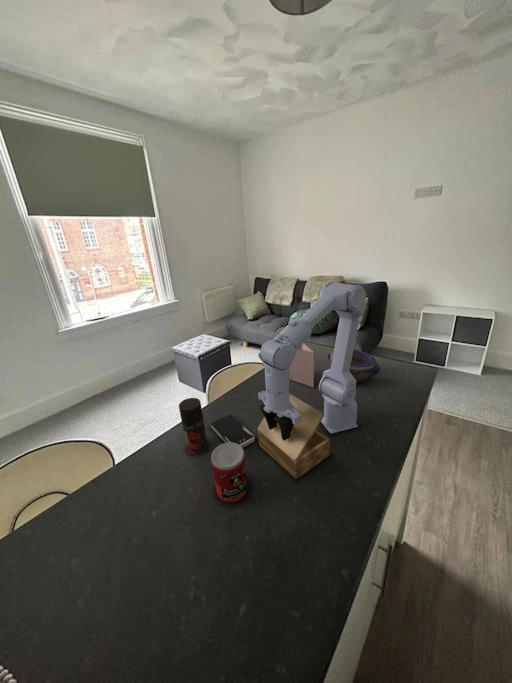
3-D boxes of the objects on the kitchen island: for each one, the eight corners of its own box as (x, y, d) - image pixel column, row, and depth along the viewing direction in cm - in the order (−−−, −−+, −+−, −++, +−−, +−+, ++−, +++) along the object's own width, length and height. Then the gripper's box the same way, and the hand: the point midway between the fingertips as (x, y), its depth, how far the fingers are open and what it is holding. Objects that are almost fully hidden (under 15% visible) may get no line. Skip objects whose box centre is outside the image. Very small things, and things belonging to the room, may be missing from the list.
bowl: (382, 388, 105) (385, 364, 101) (334, 390, 105) (335, 367, 102) (365, 366, 121) (367, 345, 118) (324, 369, 122) (325, 348, 118)
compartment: (290, 426, 88) (290, 412, 86) (329, 455, 76) (330, 439, 74) (259, 445, 81) (257, 430, 79) (296, 479, 69) (295, 463, 67)
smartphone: (230, 414, 94) (255, 437, 82) (230, 417, 95) (256, 440, 83) (210, 423, 90) (233, 449, 78) (210, 426, 91) (234, 452, 79)
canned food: (223, 509, 63) (217, 473, 59) (212, 484, 70) (206, 449, 66) (253, 494, 66) (250, 458, 62) (239, 471, 73) (235, 437, 69)
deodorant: (211, 442, 84) (204, 400, 78) (199, 456, 79) (191, 412, 73) (195, 437, 86) (187, 396, 81) (183, 450, 81) (174, 407, 76)
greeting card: (315, 387, 109) (316, 352, 103) (297, 390, 107) (297, 355, 102) (304, 374, 119) (304, 341, 114) (287, 376, 118) (287, 344, 112)
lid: (283, 390, 81) (275, 383, 78) (324, 414, 69) (316, 408, 66) (258, 429, 79) (248, 424, 76) (296, 462, 67) (286, 457, 64)
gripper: (247, 382, 71) (251, 425, 76) (284, 407, 60) (286, 455, 65) (268, 373, 75) (271, 415, 80) (307, 395, 64) (307, 442, 69)
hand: (279, 432), depth 73 cm, fingers closed on lid, 5 cm apart
